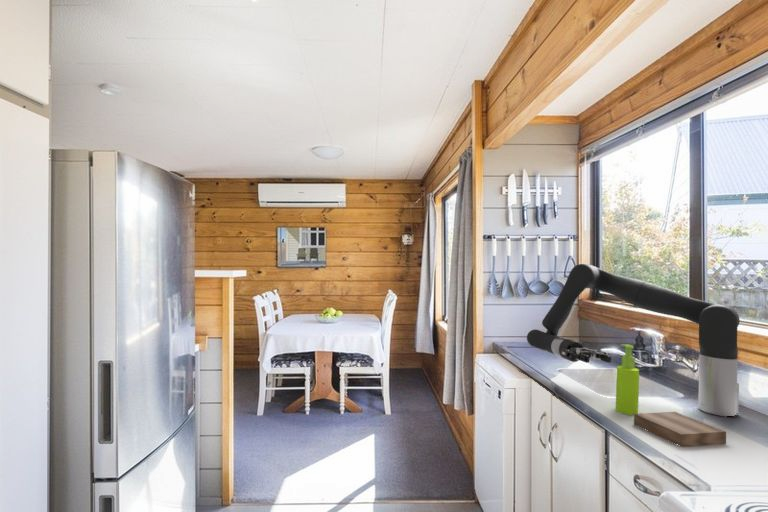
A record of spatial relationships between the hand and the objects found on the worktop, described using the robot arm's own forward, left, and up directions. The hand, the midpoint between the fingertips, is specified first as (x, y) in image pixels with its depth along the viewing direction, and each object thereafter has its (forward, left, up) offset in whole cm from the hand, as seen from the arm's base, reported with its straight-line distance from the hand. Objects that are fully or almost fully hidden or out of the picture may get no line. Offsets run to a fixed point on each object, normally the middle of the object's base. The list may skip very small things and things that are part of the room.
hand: (599, 359), depth 137 cm
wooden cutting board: (0, +28, -13) cm, 31 cm away
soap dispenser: (0, +11, -13) cm, 17 cm away
